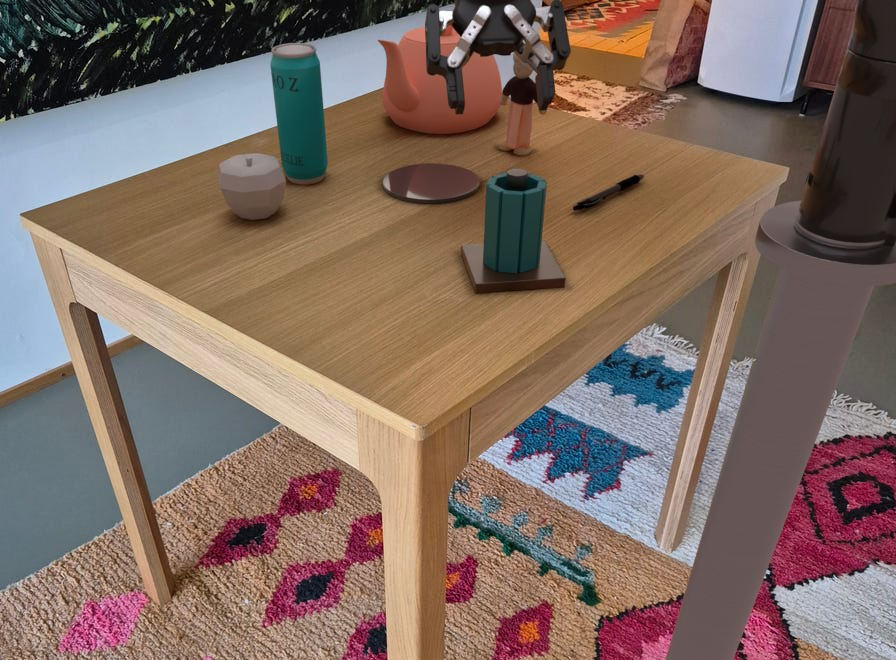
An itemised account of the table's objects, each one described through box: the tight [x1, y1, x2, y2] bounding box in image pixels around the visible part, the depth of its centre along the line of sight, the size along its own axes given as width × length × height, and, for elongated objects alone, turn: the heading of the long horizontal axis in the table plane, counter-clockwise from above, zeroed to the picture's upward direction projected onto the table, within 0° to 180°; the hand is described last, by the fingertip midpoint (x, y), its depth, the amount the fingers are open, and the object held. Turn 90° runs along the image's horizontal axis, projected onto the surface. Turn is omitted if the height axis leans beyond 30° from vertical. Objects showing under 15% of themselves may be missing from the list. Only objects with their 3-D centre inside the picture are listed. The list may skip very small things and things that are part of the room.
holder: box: [460, 168, 567, 294], centre depth 82 cm, size 9×9×10 cm
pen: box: [572, 173, 645, 212], centre depth 99 cm, size 14×2×1 cm, turn 135°
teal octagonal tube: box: [483, 171, 548, 273], centre depth 82 cm, size 6×6×8 cm
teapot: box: [377, 25, 503, 135], centre depth 118 cm, size 25×17×13 cm
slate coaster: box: [382, 162, 481, 204], centre depth 103 cm, size 12×12×1 cm
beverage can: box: [269, 42, 329, 185], centre depth 101 cm, size 6×6×15 cm
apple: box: [217, 152, 287, 221], centre depth 95 cm, size 8×8×7 cm
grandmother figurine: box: [498, 52, 548, 156], centre depth 108 cm, size 8×4×13 cm, turn 55°
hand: (503, 108), depth 83 cm, fingers open, 8 cm apart
